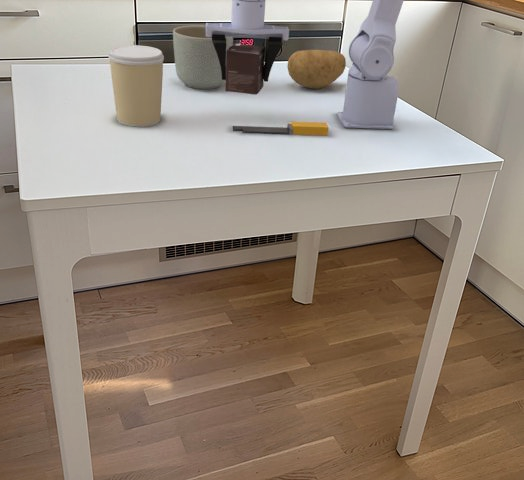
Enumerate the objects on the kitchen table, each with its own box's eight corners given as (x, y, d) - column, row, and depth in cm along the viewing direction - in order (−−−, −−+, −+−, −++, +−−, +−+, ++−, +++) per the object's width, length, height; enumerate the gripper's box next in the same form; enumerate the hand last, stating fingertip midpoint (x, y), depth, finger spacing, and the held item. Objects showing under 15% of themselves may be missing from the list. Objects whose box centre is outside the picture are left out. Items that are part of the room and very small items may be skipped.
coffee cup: (174, 117, 119) (174, 50, 112) (146, 132, 111) (144, 60, 105) (132, 108, 122) (129, 42, 115) (101, 121, 114) (96, 51, 108)
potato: (353, 90, 142) (358, 53, 138) (299, 95, 136) (303, 57, 132) (329, 78, 149) (333, 42, 145) (276, 83, 143) (279, 45, 139)
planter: (204, 74, 145) (205, 23, 139) (243, 87, 138) (245, 34, 132) (161, 82, 137) (160, 28, 132) (199, 96, 131) (200, 41, 125)
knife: (325, 130, 118) (326, 122, 117) (327, 135, 116) (328, 127, 115) (232, 127, 116) (232, 119, 115) (233, 132, 114) (233, 124, 113)
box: (256, 96, 115) (259, 53, 111) (224, 92, 116) (225, 49, 112) (263, 87, 120) (266, 46, 116) (232, 83, 121) (233, 42, 117)
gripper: (287, -3, 114) (281, 74, 121) (205, -8, 112) (204, 71, 120) (293, 4, 108) (286, 85, 115) (206, -1, 106) (205, 82, 114)
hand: (244, 79), depth 117 cm, fingers closed on box, 7 cm apart
